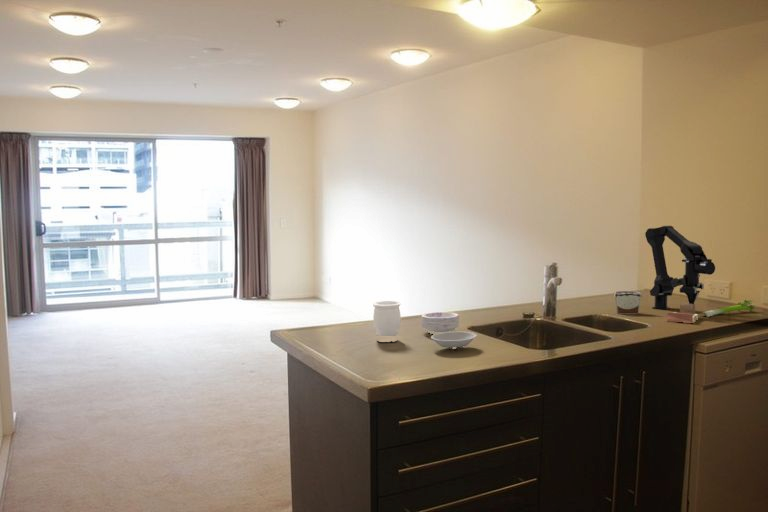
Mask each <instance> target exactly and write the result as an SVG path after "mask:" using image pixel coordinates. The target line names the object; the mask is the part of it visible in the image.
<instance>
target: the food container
mask: <svg viewBox="0 0 768 512" xmlns="http://www.w3.org/2000/svg"><path fill="white" fill-rule="evenodd" d="M613 297H614V298H615V305H616V306H615V308H616V314H617V315H639V311H640V303H641V302H640V301H641V298H642V297H643V296H642V293H641V291H640V292H639V291H632V290H619V291H616V292H614V295H613Z"/></svg>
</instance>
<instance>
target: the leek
mask: <svg viewBox="0 0 768 512" xmlns="http://www.w3.org/2000/svg"><path fill="white" fill-rule="evenodd" d="M754 302H755V300H747V299H745V300H743V302H738V304H737V305H731V306H726V307H722V308H717V309H712V310H707V311H703V312H700V315H701V316H702V315H705V317H706V318H710V316H711V317H713V316H717V315H720V314H723V313H729V312H733V311H734V312H735V311H739V312H740V311H742V310H744V311H745V310H747V311H748V310H749V313H752V311H753V310H755V307H756V304H755V305H752V303H754ZM748 305H749V306H748Z"/></svg>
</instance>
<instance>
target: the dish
mask: <svg viewBox="0 0 768 512" xmlns="http://www.w3.org/2000/svg"><path fill="white" fill-rule="evenodd" d="M477 336H478V335H477V334H476V333H473V332H469V331H454V332H444V333H438V334H435V335H431V336H430V339H432V340H433V341H434V342H435V343H436V344H437V345H438V346H440V347H442V348H445V347H450V348H449V349H451V348H453V347H461V348H464V347H466V346H468V345H469V344H471V343H472V342H473V341H474V339H476V338H477ZM463 346H464V347H463Z"/></svg>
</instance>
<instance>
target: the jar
mask: <svg viewBox="0 0 768 512" xmlns="http://www.w3.org/2000/svg"><path fill="white" fill-rule="evenodd" d="M372 304H373V305H372V306H373V308H374V311H373V325H374V331H375V333H376V336H377V335H380V336H396V335H397V336H398V335H399V332H400V328H401V327H400V326H401V316H402V315H401V311H400V306H401V303H400V302H399V301H391V300H390V301H389V300H386V301H385V300H383V301H376V302H373V303H372Z"/></svg>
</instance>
